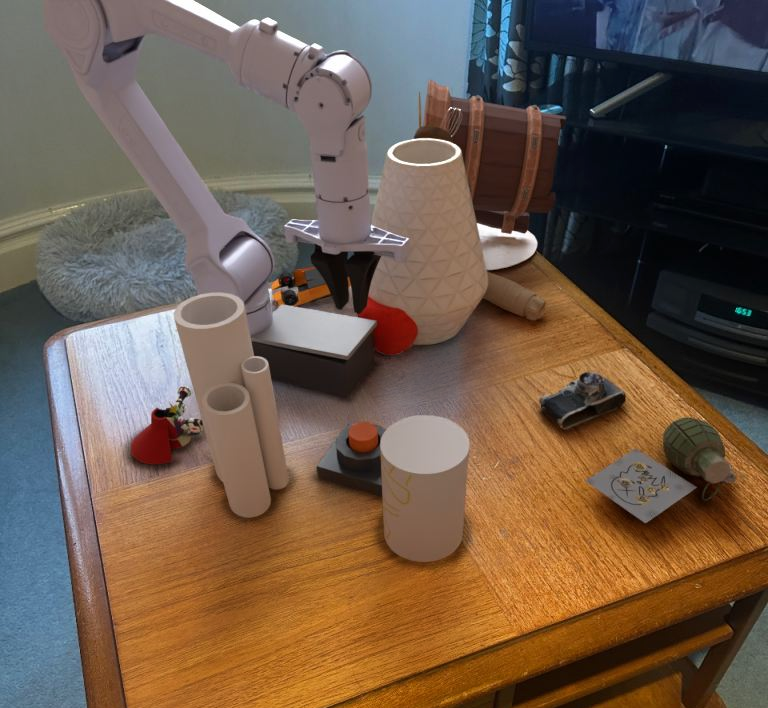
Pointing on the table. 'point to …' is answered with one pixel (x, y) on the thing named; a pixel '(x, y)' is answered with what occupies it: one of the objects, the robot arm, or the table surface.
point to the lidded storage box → (318, 367)
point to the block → (353, 464)
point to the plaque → (505, 247)
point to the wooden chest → (500, 155)
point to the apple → (390, 328)
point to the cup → (424, 486)
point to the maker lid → (315, 331)
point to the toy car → (300, 287)
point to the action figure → (165, 432)
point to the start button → (363, 437)
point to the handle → (514, 297)
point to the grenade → (697, 451)
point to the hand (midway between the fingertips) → (351, 307)
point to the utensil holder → (434, 129)
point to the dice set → (640, 485)
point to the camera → (582, 400)
